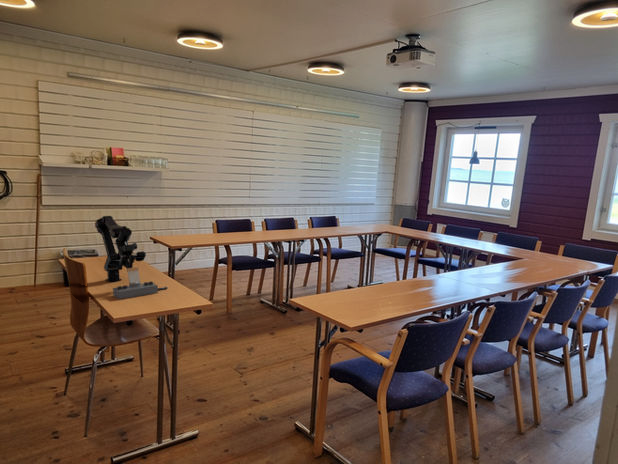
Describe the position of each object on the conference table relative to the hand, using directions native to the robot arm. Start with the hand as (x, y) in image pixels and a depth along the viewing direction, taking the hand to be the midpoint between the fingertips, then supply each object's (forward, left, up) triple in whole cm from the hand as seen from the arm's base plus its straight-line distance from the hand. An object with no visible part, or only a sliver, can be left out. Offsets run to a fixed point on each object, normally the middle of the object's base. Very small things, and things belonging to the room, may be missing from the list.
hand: (131, 271), depth 226 cm
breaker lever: (+4, -1, -6) cm, 7 cm away
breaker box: (+6, +2, -11) cm, 13 cm away
